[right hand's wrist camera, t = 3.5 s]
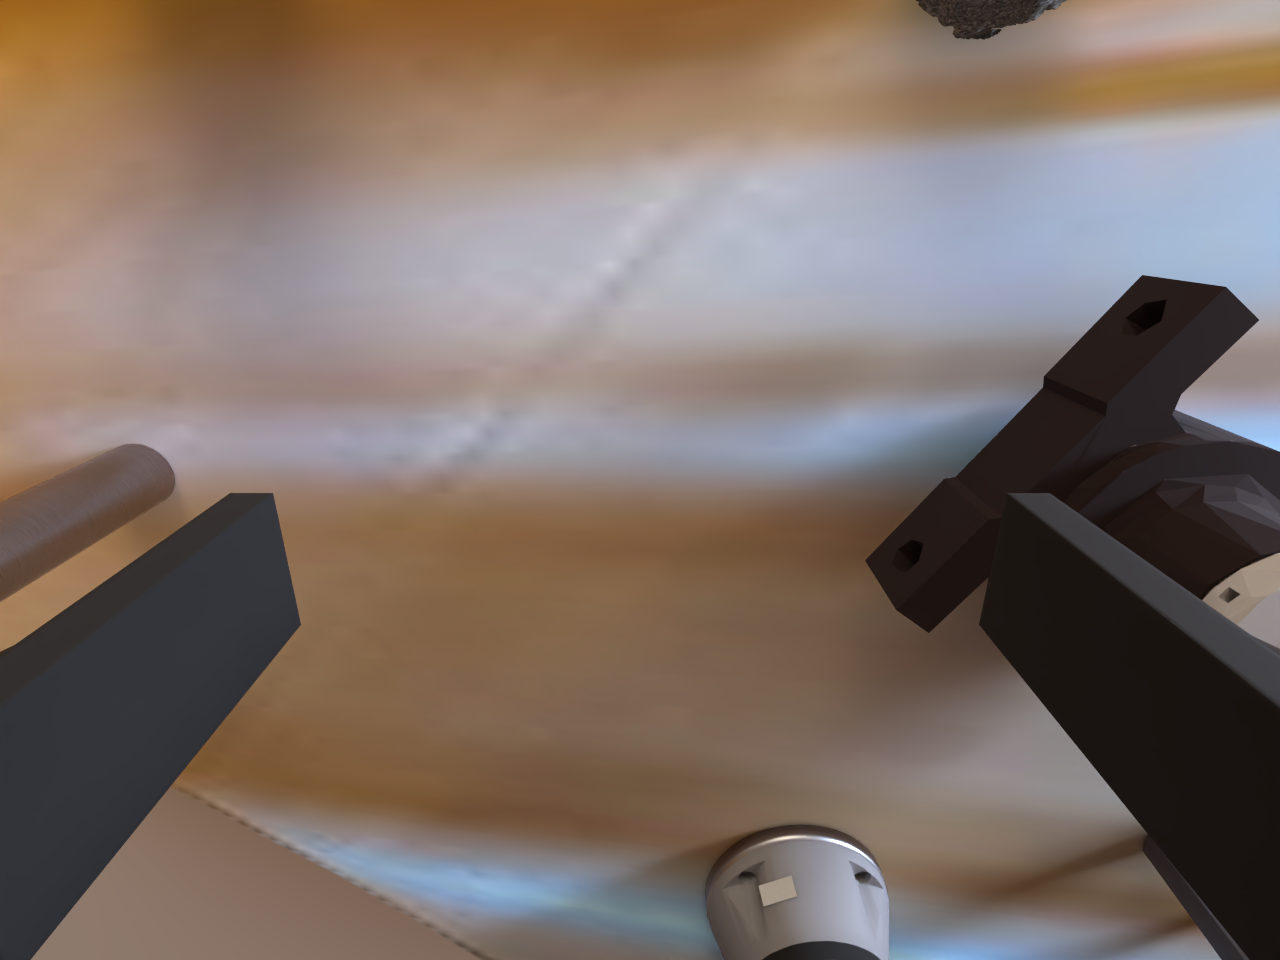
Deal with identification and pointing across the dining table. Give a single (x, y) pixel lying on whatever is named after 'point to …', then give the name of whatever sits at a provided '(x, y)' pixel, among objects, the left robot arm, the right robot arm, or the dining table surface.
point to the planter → (1194, 905)
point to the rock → (985, 14)
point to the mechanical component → (1116, 468)
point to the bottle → (77, 511)
